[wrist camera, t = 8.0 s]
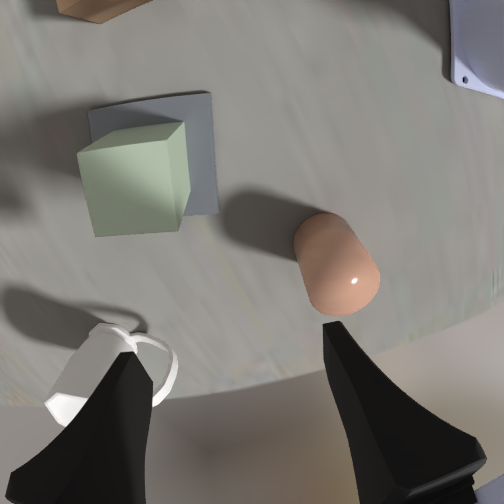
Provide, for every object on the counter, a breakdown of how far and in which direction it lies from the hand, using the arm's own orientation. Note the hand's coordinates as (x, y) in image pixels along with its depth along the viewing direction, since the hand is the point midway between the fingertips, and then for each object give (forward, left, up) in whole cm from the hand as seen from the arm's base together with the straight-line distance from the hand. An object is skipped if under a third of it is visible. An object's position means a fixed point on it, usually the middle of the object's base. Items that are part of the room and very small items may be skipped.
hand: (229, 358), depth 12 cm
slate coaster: (+4, -5, -10) cm, 12 cm away
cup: (+9, +9, -10) cm, 16 cm away
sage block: (+4, -5, -10) cm, 12 cm away
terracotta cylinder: (-6, +1, -10) cm, 12 cm away
